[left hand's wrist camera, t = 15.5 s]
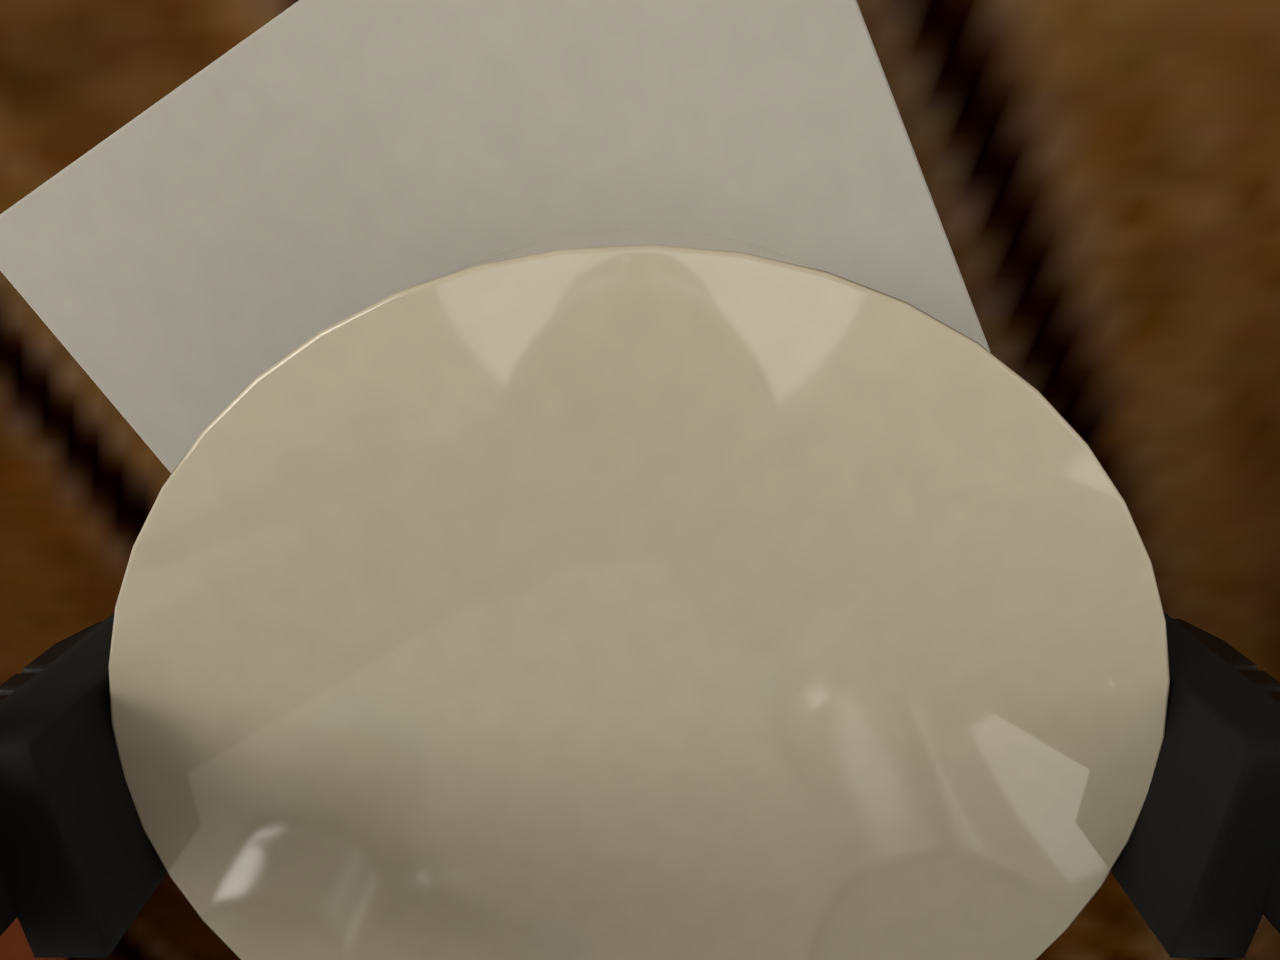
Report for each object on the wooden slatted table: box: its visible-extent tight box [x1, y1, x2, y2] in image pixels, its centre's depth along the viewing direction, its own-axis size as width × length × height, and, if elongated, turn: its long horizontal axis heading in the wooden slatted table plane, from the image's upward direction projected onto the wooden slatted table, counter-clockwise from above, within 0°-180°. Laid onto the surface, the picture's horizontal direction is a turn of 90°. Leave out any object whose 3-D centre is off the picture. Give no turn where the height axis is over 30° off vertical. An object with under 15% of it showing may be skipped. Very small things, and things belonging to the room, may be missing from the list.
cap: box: [108, 229, 1170, 960], centre depth 9 cm, size 11×11×4 cm
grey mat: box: [0, 0, 991, 474], centre depth 14 cm, size 20×14×1 cm
